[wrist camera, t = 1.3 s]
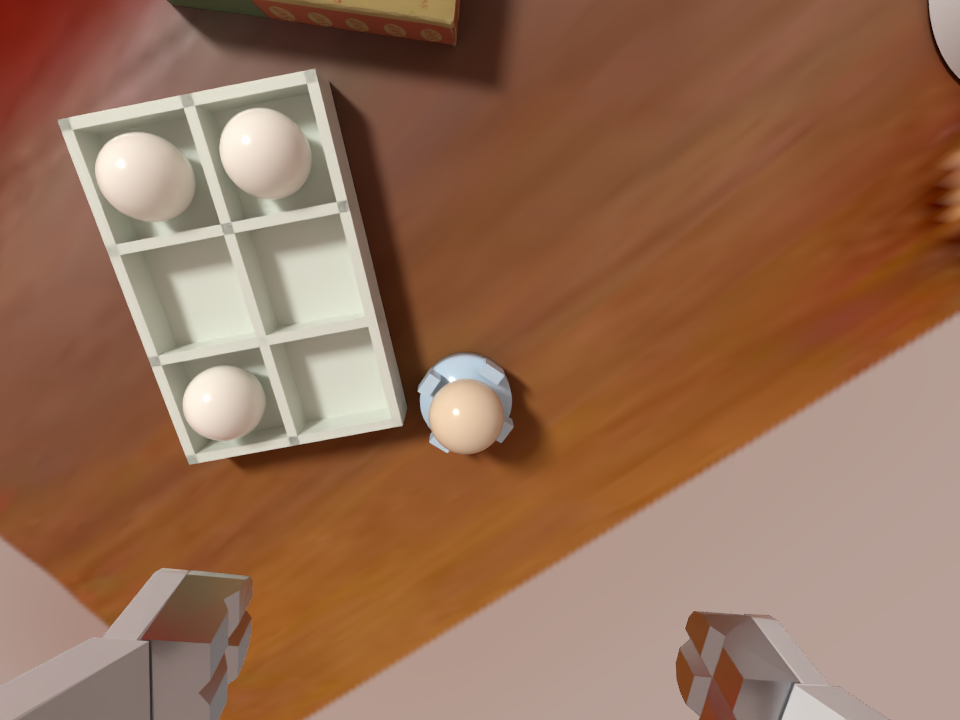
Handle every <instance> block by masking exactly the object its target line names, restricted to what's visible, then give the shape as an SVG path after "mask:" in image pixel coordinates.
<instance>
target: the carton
mask: <svg viewBox="0 0 960 720" xmlns="http://www.w3.org/2000/svg"><path fill="white" fill-rule="evenodd" d="M167 1H168V2H170V3H171V4H173V5H174V6H186V7H193V8H200V9H207V10H215V11H224V12H232V13H239V14H246V15H252V16H259V17H266V18H272V19H278V20H284V21H293V22H299V23H306V24H312V25H318V26H325V27H332V28H339V29H345V30H352V31H358V32H366V33H373V34H380V35H387V36H395V37H400V38H407V39H413V40H422V41H430V42H435V43H442V44H449V45H453V46H455V47H456V40H457V30H458V20H459V11H460V1H461V0H167Z"/></svg>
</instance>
